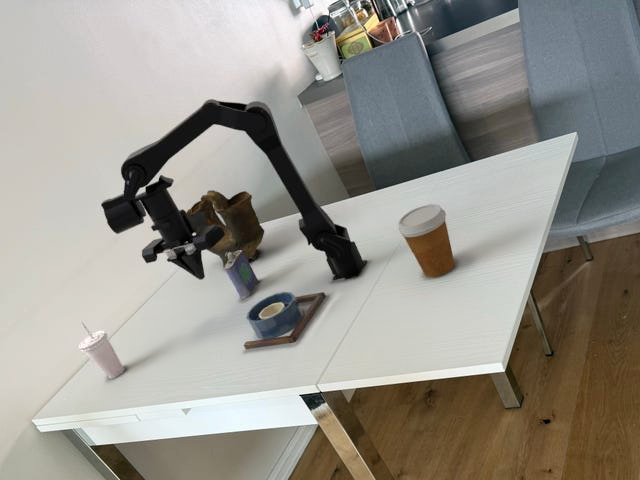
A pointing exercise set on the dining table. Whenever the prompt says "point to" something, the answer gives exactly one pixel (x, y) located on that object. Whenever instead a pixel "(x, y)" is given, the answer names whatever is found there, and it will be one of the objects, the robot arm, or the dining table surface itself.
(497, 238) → the dining table surface
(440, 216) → the disposable coffee cup
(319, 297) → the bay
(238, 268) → the flask
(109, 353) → the smoothie
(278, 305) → the small bowl
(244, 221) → the pottery vessel
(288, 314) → the blue-grey round ring piece
